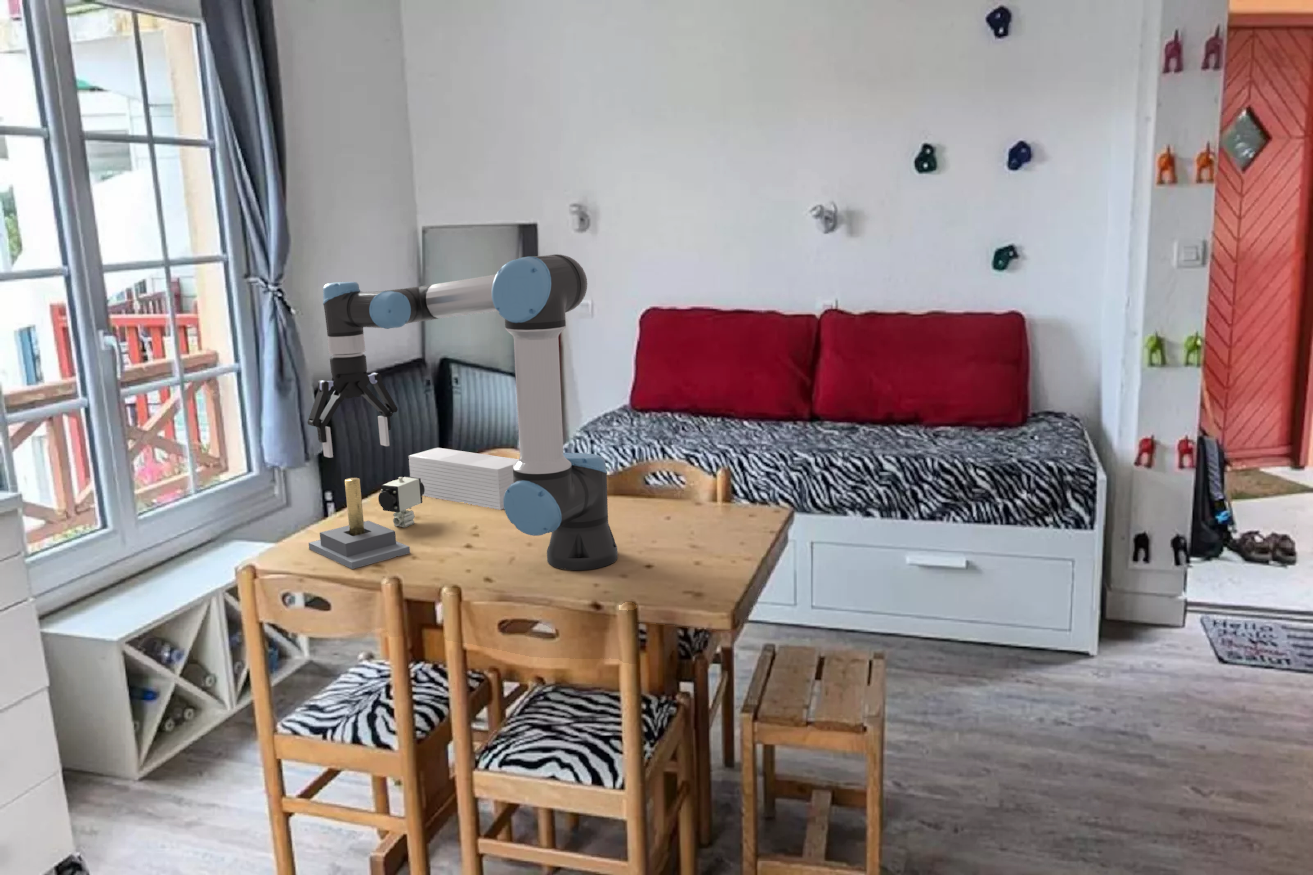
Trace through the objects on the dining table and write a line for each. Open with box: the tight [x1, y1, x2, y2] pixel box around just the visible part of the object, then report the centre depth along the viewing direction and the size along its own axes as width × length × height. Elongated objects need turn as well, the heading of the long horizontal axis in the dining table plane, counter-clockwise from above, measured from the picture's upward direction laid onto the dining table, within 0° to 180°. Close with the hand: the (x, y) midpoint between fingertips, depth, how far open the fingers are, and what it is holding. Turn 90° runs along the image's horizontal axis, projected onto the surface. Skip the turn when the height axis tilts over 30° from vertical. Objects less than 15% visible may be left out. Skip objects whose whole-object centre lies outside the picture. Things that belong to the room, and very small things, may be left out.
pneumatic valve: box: [378, 476, 425, 529], centre depth 249 cm, size 6×12×12 cm, turn 153°
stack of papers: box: [407, 447, 519, 511], centre depth 273 cm, size 32×11×11 cm, turn 56°
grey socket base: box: [308, 520, 411, 570], centre depth 231 cm, size 20×14×4 cm
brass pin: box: [344, 477, 365, 536], centre depth 230 cm, size 3×3×15 cm
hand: (357, 451), depth 227 cm, fingers open, 13 cm apart
